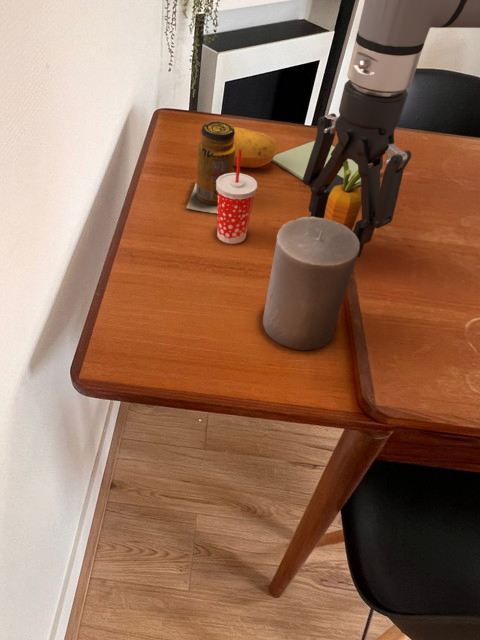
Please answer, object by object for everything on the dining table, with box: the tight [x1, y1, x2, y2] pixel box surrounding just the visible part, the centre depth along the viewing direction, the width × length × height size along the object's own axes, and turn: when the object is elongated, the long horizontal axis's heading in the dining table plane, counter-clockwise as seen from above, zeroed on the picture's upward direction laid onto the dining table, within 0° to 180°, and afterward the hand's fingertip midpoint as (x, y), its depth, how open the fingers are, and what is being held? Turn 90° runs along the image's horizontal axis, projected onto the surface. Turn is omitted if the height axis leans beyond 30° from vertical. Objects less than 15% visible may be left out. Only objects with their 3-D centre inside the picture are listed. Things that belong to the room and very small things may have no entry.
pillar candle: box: [262, 216, 360, 351], centre depth 66 cm, size 10×10×15 cm
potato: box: [233, 126, 278, 169], centre depth 97 cm, size 8×14×7 cm, turn 67°
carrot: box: [324, 161, 362, 232], centre depth 76 cm, size 5×5×15 cm
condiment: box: [186, 120, 235, 214], centre depth 86 cm, size 7×8×12 cm
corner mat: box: [271, 140, 382, 193], centre depth 100 cm, size 16×14×1 cm
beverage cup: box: [216, 149, 258, 245], centre depth 79 cm, size 6×6×14 cm
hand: (332, 245), depth 80 cm, fingers open, 7 cm apart
